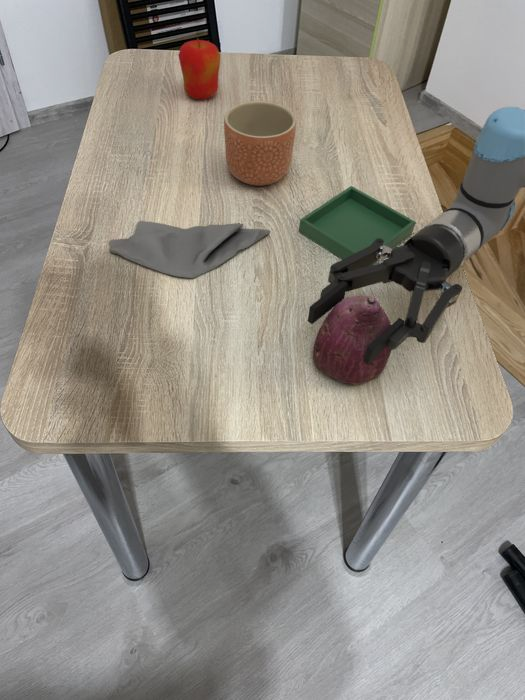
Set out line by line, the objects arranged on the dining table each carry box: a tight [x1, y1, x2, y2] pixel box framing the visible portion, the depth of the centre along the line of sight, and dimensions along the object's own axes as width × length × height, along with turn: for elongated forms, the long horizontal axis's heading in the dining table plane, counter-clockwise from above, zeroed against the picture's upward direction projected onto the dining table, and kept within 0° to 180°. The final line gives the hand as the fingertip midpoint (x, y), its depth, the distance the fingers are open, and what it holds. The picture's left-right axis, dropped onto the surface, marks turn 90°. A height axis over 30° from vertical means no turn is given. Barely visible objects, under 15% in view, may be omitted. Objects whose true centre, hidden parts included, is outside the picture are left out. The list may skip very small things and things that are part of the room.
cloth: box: [108, 220, 271, 279], centre depth 86 cm, size 26×14×2 cm, turn 90°
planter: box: [223, 100, 297, 187], centre depth 96 cm, size 12×12×11 cm
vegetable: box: [312, 294, 393, 386], centre depth 68 cm, size 10×10×15 cm
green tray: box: [298, 185, 417, 266], centre depth 90 cm, size 14×14×3 cm
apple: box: [178, 37, 221, 100], centre depth 113 cm, size 9×8×12 cm
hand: (338, 335), depth 65 cm, fingers closed on vegetable, 8 cm apart
